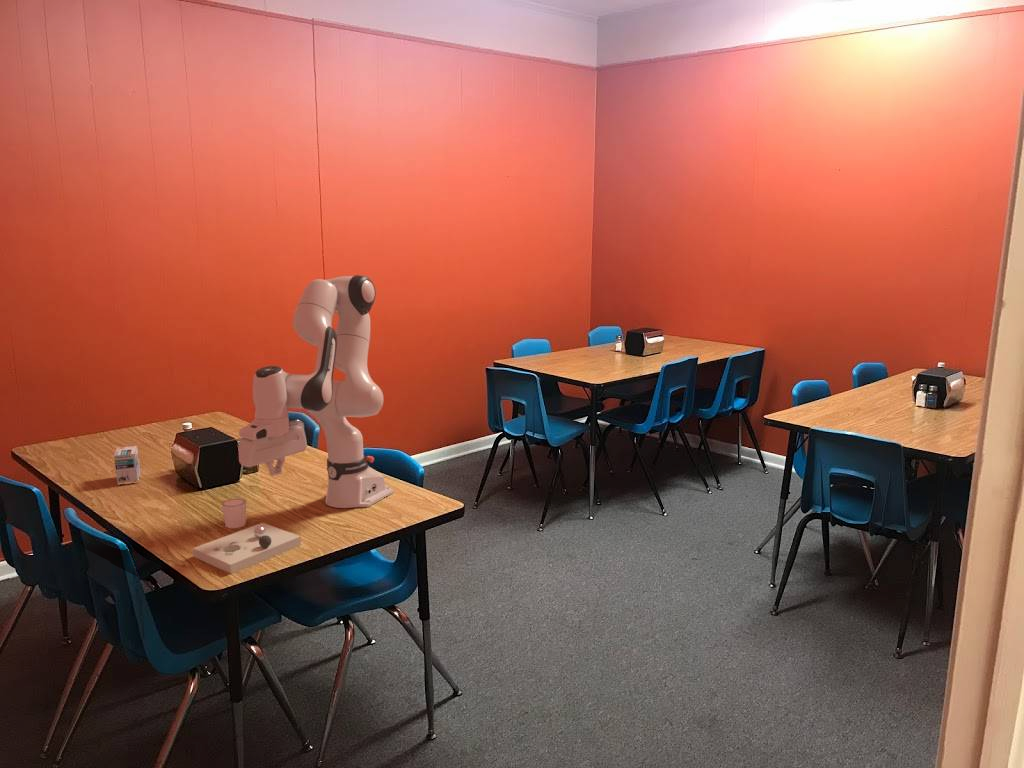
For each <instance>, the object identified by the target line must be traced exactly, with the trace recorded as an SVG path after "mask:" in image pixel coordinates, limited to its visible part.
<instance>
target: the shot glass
mask: <svg viewBox="0 0 1024 768" xmlns="http://www.w3.org/2000/svg"><path fill="white" fill-rule="evenodd" d="M221 508H222V513H223V519H224V525H225V527H226V528H227V527H228V529H239V528H242V527H244V526H245V525H246V524H247V523H246V522H247V500H246V499H243V498H231V499H227V500H225V501H223V502H221Z"/></svg>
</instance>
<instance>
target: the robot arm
mask: <svg viewBox="0 0 1024 768" xmlns="http://www.w3.org/2000/svg"><path fill="white" fill-rule="evenodd" d="M376 293H377V292H376V288H375V285H374V283H373V282H372V280H371V278H370V277H368V276H365V275H358V274H355V275H350V276H348V275H344V276H337V277H333V278H329V279H321V278H318V279H314V280H311V281H310V282H309V283H308V284H307V285H306V286H305V289H304V290H303V292H302V294H301V296H300V298H299V300H298V302H297V305H296V308H295V310H294V313H293V317H292V327H293V330H294V331H295V333H296V334H297V335H298V336H299V337H300V338H301V339H302V340H303V341H305V342H307V343H308V344H310V345H313V346H315V347H317V356H316V364H315V369H314V372H312V373H310V374H299V373H289V372H286V371H284V370H283V368H282V367H280V366H278V365H267V366H263V367H261V368H259V369H257V370H256V371H255V372H254V375H253V381H252V399H253V404H254V407H255V412H254V420H252V421H251V422H250V423H248V424H247V425H245V426H243V427H242V428H240V429H239V431H238V436H239V437H241V439H240V440H239V442H238V462H239V464H240V465H241V466H243V467H245V468H252V467H256V466H259V465H262V464H265V466H266V467H267V468H268V471H269V472H268V473H269V475H270V476H276V475H278V474H282V473H283V469H282V468H283V465H284V464H285V460H286V459H285V458H286V457H289V456H292V455H296V454H299V453H302V452H304V451H306V450H307V448H308V443H307V437H306V432H305V424H304V422H303V421H302V420H299V419H294V420H291V421H290V420H289V411H288V408H290V409H301V410H302V409H303V410H306V411H307V412H308V413H309V414H310V415H312V417H314V418H315V420H317V422H318V423H319V424H320V426H321V428H322V430H323V433H324V436H325V440H326V450H327V459H326V470H327V474H328V476H327V477H328V478H327V488H326V489H327V490H326V497H325V500H324V504H326V505H327V506H328V507H332V508H337V509H350V508H367V507H368V508H369V507H370V506H372V505H375V504H376V503H377V502H380V501H381V500H383V499H385V498H386V496H387V497H389V496H390V495H392V494H393V493H394V490H393V488H391V486H388V485H386V480H385V476H384V475H383V474H382V473H380V472H379V471H377V470H376V469H374V468H372V467H370V465H369V463H371V464H372V463H373V462H374V461H375V458H374V457H373V455H372V456H370V455H367V456H366V455H364V438H363V435H362V432H361V431H360V430H359V428H357V427H356V426H354V425H352V424H351V423H350V422H349V421H348V420H347V417H348V418H349V417H350V418H365V417H373V416H376V415H378V414H379V412H380V411H381V410H382V408H383V405H384V400H385V399H384V393H383V391H382V389H381V388H380V386H379V385H377V383H375V382H374V381H373V379H372V377H371V375H370V373H369V369H368V357H369V349H370V341H371V315H370V314H369V312H370V311H371V309H372V306H373V305H374V302H375V299H376ZM335 313H337V315H338V321H337V325H336V329H334V328H333V326H332V325H333V320H334V317H335ZM335 368H336V369H337V370H339V371H341V372H343V373H344V380H343V381H340V380H334V379H333V378H334V372H335ZM275 461H276V465H275V466H273V465H274V462H275ZM384 497H385V498H384Z"/></svg>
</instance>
